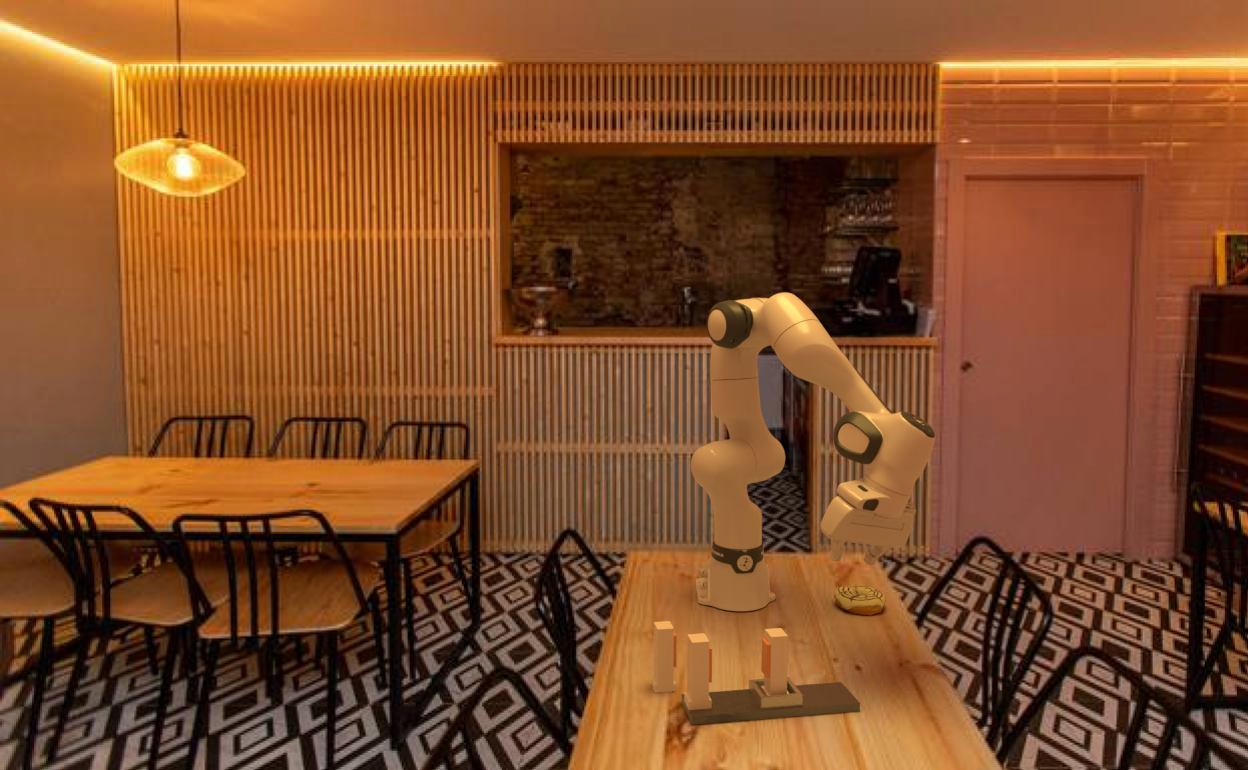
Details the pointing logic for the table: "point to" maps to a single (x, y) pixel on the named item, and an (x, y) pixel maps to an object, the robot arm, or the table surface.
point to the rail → (774, 703)
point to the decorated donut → (859, 599)
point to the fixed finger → (698, 672)
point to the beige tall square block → (774, 662)
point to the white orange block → (664, 657)
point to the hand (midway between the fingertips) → (851, 561)
